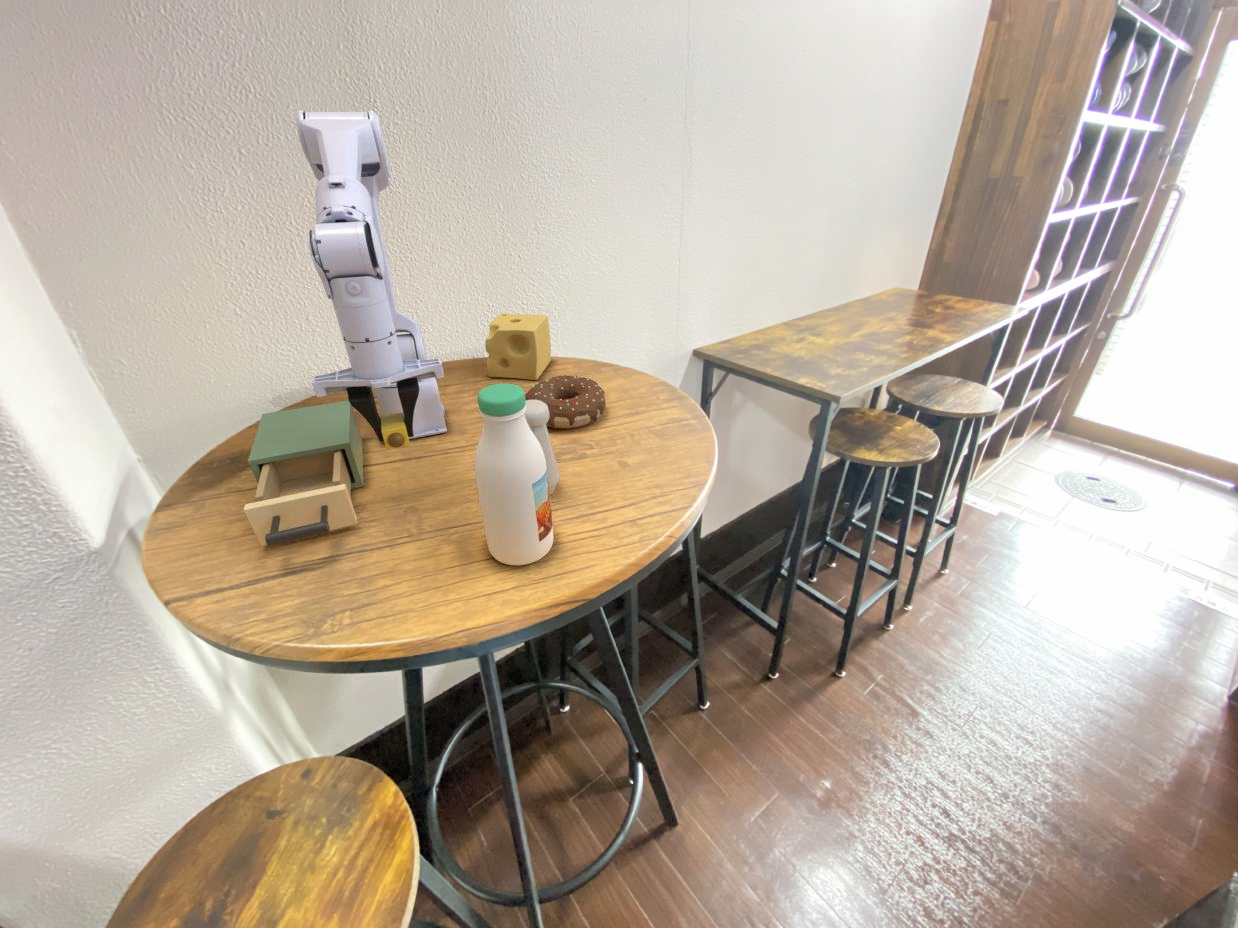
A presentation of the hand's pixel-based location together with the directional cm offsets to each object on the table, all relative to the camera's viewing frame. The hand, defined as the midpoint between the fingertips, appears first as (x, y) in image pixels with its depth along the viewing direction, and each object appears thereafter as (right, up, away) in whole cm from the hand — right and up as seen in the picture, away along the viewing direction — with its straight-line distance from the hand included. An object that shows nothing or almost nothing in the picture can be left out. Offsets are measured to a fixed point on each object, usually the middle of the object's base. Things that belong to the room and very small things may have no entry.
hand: (396, 435), depth 69 cm
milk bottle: (+17, -13, -6) cm, 23 cm away
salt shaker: (+18, -7, +4) cm, 20 cm away
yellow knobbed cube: (0, 0, 0) cm, 1 cm away
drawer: (-9, -10, -3) cm, 14 cm away
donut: (+20, +5, +22) cm, 30 cm away
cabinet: (-14, -5, +8) cm, 17 cm away
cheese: (+9, +15, +39) cm, 43 cm away
